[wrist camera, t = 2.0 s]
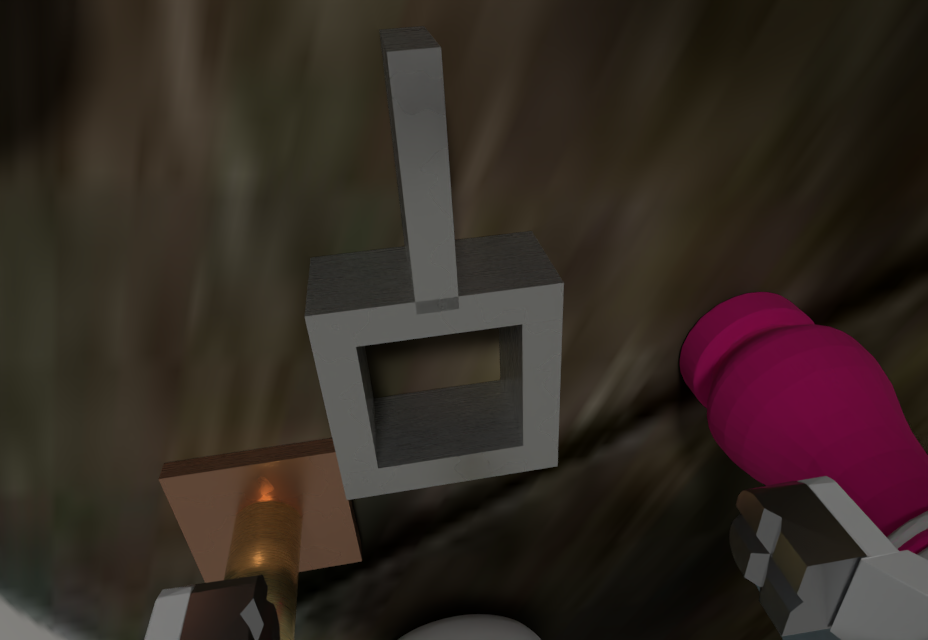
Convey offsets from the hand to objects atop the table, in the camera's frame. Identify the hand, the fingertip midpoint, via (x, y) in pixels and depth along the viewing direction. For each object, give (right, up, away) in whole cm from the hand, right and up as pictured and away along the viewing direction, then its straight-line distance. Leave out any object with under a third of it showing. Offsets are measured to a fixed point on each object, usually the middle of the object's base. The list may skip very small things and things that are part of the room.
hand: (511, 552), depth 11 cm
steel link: (-2, +7, +15) cm, 17 cm away
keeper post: (-11, -6, +21) cm, 24 cm away
